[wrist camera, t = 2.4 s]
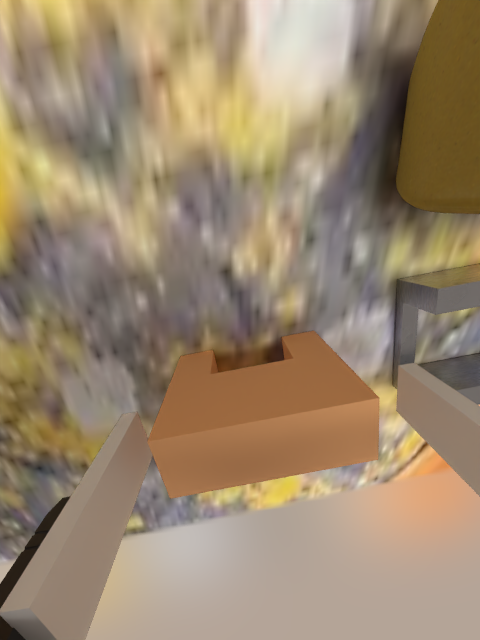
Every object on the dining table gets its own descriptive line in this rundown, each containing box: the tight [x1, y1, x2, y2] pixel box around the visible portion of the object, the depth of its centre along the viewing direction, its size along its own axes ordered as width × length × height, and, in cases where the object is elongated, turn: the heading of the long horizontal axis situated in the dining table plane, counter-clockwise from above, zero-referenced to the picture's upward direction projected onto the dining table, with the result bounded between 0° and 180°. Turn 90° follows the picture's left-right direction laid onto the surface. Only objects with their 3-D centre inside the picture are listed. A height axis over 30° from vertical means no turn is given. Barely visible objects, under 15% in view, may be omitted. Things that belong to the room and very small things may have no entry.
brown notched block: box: [147, 331, 379, 499], centre depth 13 cm, size 9×3×7 cm, turn 100°
